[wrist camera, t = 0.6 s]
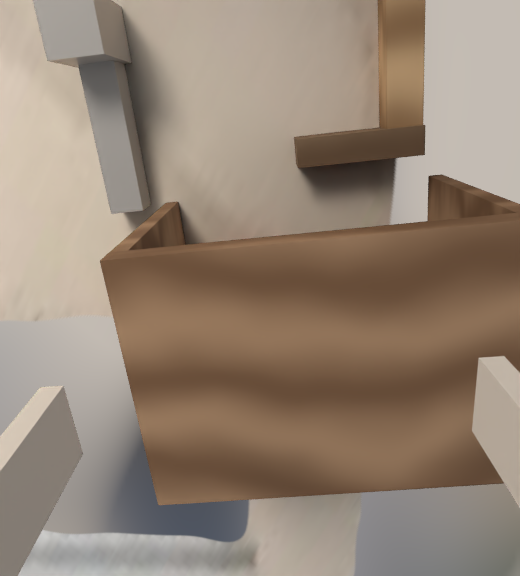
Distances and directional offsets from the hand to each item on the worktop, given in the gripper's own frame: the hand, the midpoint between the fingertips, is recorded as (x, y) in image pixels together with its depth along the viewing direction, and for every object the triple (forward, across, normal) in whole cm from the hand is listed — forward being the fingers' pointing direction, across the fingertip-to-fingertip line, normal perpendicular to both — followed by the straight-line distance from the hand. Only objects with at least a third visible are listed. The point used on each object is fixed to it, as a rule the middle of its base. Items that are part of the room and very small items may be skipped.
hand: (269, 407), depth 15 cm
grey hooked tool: (+25, -11, +9) cm, 29 cm away
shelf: (+25, +3, -6) cm, 26 cm away
